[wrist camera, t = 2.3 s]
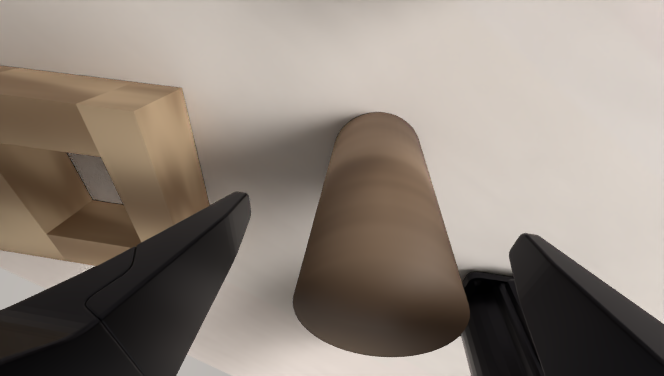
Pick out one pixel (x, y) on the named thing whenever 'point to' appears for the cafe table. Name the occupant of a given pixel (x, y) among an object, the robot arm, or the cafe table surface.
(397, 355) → the walnut peg
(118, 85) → the socket block
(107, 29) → the cafe table surface
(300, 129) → the cafe table surface
